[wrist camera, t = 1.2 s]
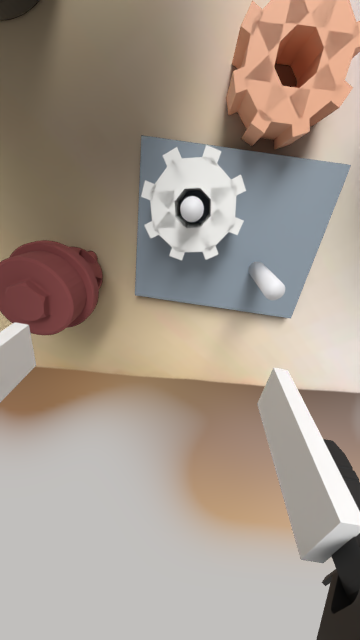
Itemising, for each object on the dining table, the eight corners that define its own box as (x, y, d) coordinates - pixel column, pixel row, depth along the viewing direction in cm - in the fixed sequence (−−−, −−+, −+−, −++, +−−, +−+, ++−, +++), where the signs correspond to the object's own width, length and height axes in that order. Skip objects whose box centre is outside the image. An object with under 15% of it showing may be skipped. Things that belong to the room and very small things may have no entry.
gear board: (144, 138, 26) (117, 107, 17) (343, 167, 25) (414, 149, 17) (137, 291, 34) (116, 321, 25) (287, 313, 34) (316, 351, 25)
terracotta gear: (241, 8, 21) (253, -52, 16) (348, 23, 21) (395, -33, 16) (219, 141, 25) (223, 127, 20) (307, 154, 25) (333, 142, 20)
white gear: (148, 160, 25) (135, 149, 20) (239, 153, 24) (249, 141, 19) (156, 251, 29) (148, 261, 25) (234, 249, 29) (241, 258, 24)
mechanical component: (99, 223, 30) (127, 293, 34) (34, 244, 32) (69, 309, 36) (40, 235, 19) (93, 337, 23) (-53, 266, 21) (11, 355, 25)
